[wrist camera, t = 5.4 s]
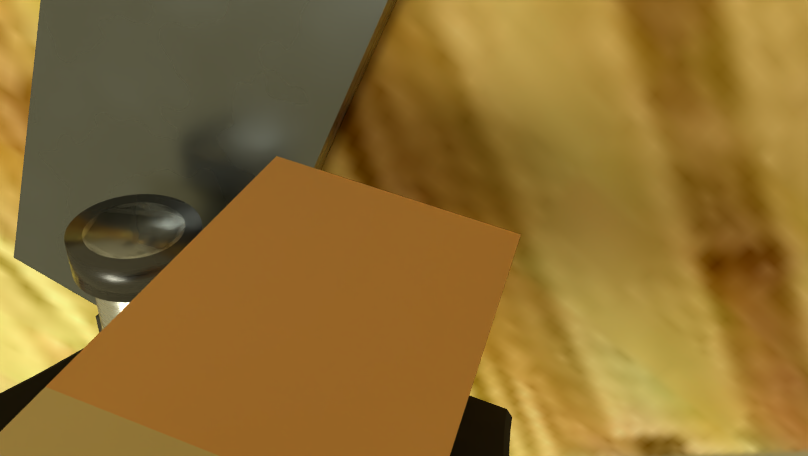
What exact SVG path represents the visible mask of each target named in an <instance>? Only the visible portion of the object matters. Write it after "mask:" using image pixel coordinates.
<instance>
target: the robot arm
mask: <svg viewBox="0 0 808 456" xmlns="http://www.w3.org/2000/svg"><path fill="white" fill-rule="evenodd" d="M83 349H84V348H83ZM83 349H82V350H83ZM82 350H80V351H78V352H76V353H74V354H73V355H71V356H69V357H67V358H66V359H64V360H62V361H60V362H58V363H57V364H55V365H53V366H51V367H50V368H48V369H46V370H44V371H42V372H40V373H39V374H37V375H35V376H33V377H31V378H29V379H27V380H25V381H23V382H21V383H19V384H17V385H15V386H14V387H12V388H10V389H8V390H6V391H4V392H2V393H0V432H1V431H2V430H3V429H4V428H5V427H6V426H7V425H8V424H9V423H10V422H11V421H12V420H13V419H14V418H15V417H16V416H17V415H18V414H19V413H20V412H21V411H22V410H23V409H24V408H25V407H26V406H27V405H28V404H29V403H30V402H31V401H32V400H33V399H34V398H35V397H36V396H37V395H38V394H39V393H40V392H41V391H42V390H43V389H44V388H45V387H46V386H47V385H48V384H49V383H50V382H51V381H52V380H53V379H54V378H55V377H56V376H57V375H58V374H59V373H60V372H61V371H62V370H63V369H64V368H65V367H66V366H67V365H68V364H69V363H70V362H71V361H72V360H73V359H74V358H75V357H76V356H77V355H78V354H79V353H80V352H81V351H82ZM511 421H512V416H511V415H510V413H509V412H508V410H507V409H505V408H502V407H499V406H497V405H494V404H491V403H488V402H486V401H483V400H480V399H477V398H475V397H472V396H469V397H468V401H467V404H466V407H465V410H464V413H463V416H462V419H461V422H460V425H459V429H458V432H457V435H456V438H455V441H454V444H453V447H452V450H451V453H450V456H509V443H510V429H511Z"/></svg>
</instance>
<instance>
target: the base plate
mask: <svg viewBox="0 0 808 456" xmlns="http://www.w3.org/2000/svg"><path fill="white" fill-rule="evenodd" d="M395 3H396V0H41V3H40V12H39V22H38V31H37V41H36V50H35V60H34V70H33V79H32V89H31V98H30V108H29V117H28V127H27V136H26V146H25V155H24V165H23V174H22V184H21V194H20V203H19V213H18V222H17V232H16V241H15V251H14V258H16V259H17V260H19V261H21V262H22V263H24V264H26V265H28V266H29V267H31V268H33V269H35V270H36V271H38V272H40V273H42V274H43V275H45V276H47V277H48V278H50V279H52V280H54V281H55V282H57V283H59V284H61V285H62V286H64V287H66V288H67V289H69V290H71V291H73V292H74V293H76V294H78V295H80V296H81V297H83V298H85V299H86V300H88V301H90V302H92V303H93V304H95V305H97V303H96V298H95V297H93V296H91V295H89V294H87V293H85V292H84V291H83V290H81V289H80V288H79V287H78V286H77V284H76V283H75V281H74V279H73V276H72V272H71V268H70V264H69V260H68V256H67V251H66V247H65V243H64V235H65V231H66V229H67V227H68V225H69V224H70V222H71V221H72V220H73V219H74V218H75V217H76V216H77V215H78V214H80V213H81V212H83V211H84V210H86V209H87V208H89V207H91V206H93V205H95V204H97V203H100V202H102V201H105V200H108V199H112V198H116V197H120V196H126V195H134V194H157V195H164V196H169V197H173V198H176V199H179V200H181V201H184V202H185V203H187V204H189V205H190V206H192V207H193V208H194V209H195V210H196V211H197V212H198V214H199V216H200V218H201V221H202V230H203V229H204V228H205V227H206V226H207V225H208V224H209V223H210V222H211V221H212V220H213V219H214V218H215V217H216V216H217V215H218V214H219V213H220V212H221V211H222V210H223V209H224V208H225V207H226V206H227V205H228V204H229V203H230V202H231V201H232V200H233V199H234V198H235V197H236V196H237V195H238V194H239V193H240V192H241V191H242V190H243V189H244V188H245V187H246V186H247V185H248V184H249V183H250V182H251V181H252V180H253V179H254V178H255V177H256V176H257V175H258V174H259V173H260V172H261V171H262V170H263V169H264V168H265V167H266V166H267V165H268V164H269V163H270V162H271V161H272V160H273V159H274V158H275V157H276V156H278V157H281V158H284V159H288V160H291V161H294V162H297V163H300V164H303V165H306V166H309V167H312V168H316V169H319V170H320V169H321V167H322V165H323V163H324V160H325V158H326V156H327V154H328V152H329V149H330V147H331V145H332V143H333V140H334V138H335V136H336V134H337V132H338V129H339V127H340V125H341V123H342V120H343V118H344V116H345V114H346V112H347V109H348V107H349V105H350V103H351V100H352V98H353V96H354V94H355V92H356V89H357V87H358V85H359V83H360V80H361V78H362V76H363V74H364V72H365V69H366V67H367V65H368V63H369V60H370V58H371V56H372V54H373V52H374V49H375V47H376V45H377V43H378V40H379V38H380V36H381V34H382V32H383V29H384V27H385V25H386V23H387V20H388V18H389V16H390V14H391V12H392V9H393V7H394V5H395Z"/></svg>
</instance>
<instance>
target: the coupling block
mask: <svg viewBox="0 0 808 456" xmlns="http://www.w3.org/2000/svg"><path fill="white" fill-rule="evenodd" d="M520 236H521V234H518V233H515V232H512V231H509V230H506V229H502V228H499V227H496V226H493V225H490V224H487V223H484V222H481V221H477V220H474V219H471V218H468V217H465V216H462V215H459V214H456V213H453V212H449V211H446V210H443V209H440V208H437V207H434V206H431V205H428V204H425V203H421V202H418V201H415V200H412V199H409V198H406V197H403V196H400V195H397V194H393V193H390V192H387V191H384V190H381V189H378V188H375V187H372V186H368V185H365V184H362V183H359V182H356V181H353V180H350V179H347V178H344V177H340V176H337V175H334V174H331V173H328V172H325V171H322V170H319V169H316V168H312V167H309V166H306V165H303V164H300V163H297V162H294V161H291V160H288V159H284V158H281V157H278V156H276V157H275V158H274V159H273V160H272V161H271V162H270V163H269V164H268V165H267V166H266V167H265V168H264V169H263V170H262V171H261V172H260V173H259V174H258V175H257V176H256V177H255V178H254V179H253V180H252V181H251V182H250V183H249V184H248V185H247V186H246V187H245V188H244V189H243V190H242V191H241V192H240V193H239V194H238V195H237V196H236V197H235V198H234V199H233V200H232V201H231V202H230V203H229V204H228V205H227V206H226V207H225V208H224V209H223V210H222V211H221V212H220V213H219V214H218V215H217V216H216V217H215V218H214V219H213V220H212V221H211V222H210V223H209V224H208V225H207V226H206V227H205V228H204V229H203V230H202V231H201V232H200V233H199V234H198V235H197V236H196V237H195V238H194V239H193V240H192V241H191V242H190V243H189V244H188V245H187V246H186V247H185V248H184V249H183V250H182V251H181V252H180V253H179V254H178V255H177V256H176V257H175V258H174V259H173V260H172V261H171V262H170V263H169V264H168V265H167V266H166V267H165V268H164V269H163V270H162V271H161V272H160V273H159V274H158V275H157V276H156V277H155V278H154V279H153V280H152V281H151V282H150V283H149V284H148V285H147V286H146V287H145V288H144V289H143V290H142V291H141V292H140V293H139V294H138V295H137V296H136V297H135V298H134V299H133V300H132V301H131V302H130V303H129V304H128V305H127V306H126V307H125V308H124V309H123V310H122V311H121V312H120V313H119V314H118V315H117V316H116V317H115V318H114V319H113V320H112V321H111V322H110V323H109V324H108V325H107V326H106V327H105V328H104V329H103V330H102V331H101V332H100V333H99V334H98V335H97V336H96V337H95V338H94V339H93V340H92V341H91V342H90V343H89V344H88V345H87V346H86V347H85V348H84V349H83V350H82V351H81V352H80V353H79V354H78V355H77V356H76V357H75V358H74V359H73V360H72V361H71V362H70V363H69V364H68V365H67V366H66V367H65V368H64V369H63V370H62V371H61V372H60V373H59V374H58V375H57V376H56V377H55V378H54V379H53V380H52V381H51V382H50V383H49V384H48V385H47V386H46V387H45V388H44V389H43V390H42V391H41V392H40V393H39V394H38V395H37V396H36V397H35V398H34V399H33V400H32V401H31V402H30V403H29V404H28V405H27V406H26V407H25V408H24V409H23V410H22V411H21V412H20V413H19V414H18V415H17V416H16V417H15V418H14V419H13V420H12V421H11V422H10V423H9V424H8V425H7V426H6V427H5V428H4V429H3V430H2V431H1V432H0V456H450V453H451V450H452V447H453V444H454V441H455V438H456V435H457V432H458V429H459V425H460V422H461V419H462V416H463V413H464V410H465V407H466V404H467V401H468V397H469V394H470V391H471V388H472V385H473V382H474V379H475V376H476V373H477V369H478V366H479V363H480V360H481V357H482V354H483V351H484V348H485V345H486V341H487V338H488V335H489V332H490V329H491V326H492V323H493V320H494V317H495V314H496V310H497V307H498V304H499V301H500V298H501V295H502V292H503V289H504V286H505V282H506V279H507V276H508V273H509V270H510V267H511V264H512V261H513V258H514V254H515V251H516V248H517V245H518V242H519V239H520Z"/></svg>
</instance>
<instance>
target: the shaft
mask: <svg viewBox="0 0 808 456" xmlns="http://www.w3.org/2000/svg"><path fill="white" fill-rule="evenodd" d="M201 231H202V221H201V218H200V216H199V214H198V212H197V211H196V210H195V209H194V208H193V207H192V206H190V205H189V204H187V203H185V202H184V201H181V200H179V199H176V198H173V197H169V196H164V195H157V194H134V195H126V196H120V197H116V198H112V199H108V200H105V201H102V202H100V203H97V204H95V205H93V206H91V207H89V208H87V209H86V210H84V211H83V212H81V213H80V214H78V215H77V216H76V217H75V218H74V219H73V220H72V221H71V222H70V224H69V225H68V227H67V229H66V231H65V235H64V243H65V247H66V251H67V256H68V260H69V264H70V268H71V272H72V276H73V279H74V281H75V283H76V284H77V286H78V287H79V288H80V289H81V290H83V291H84V292H85V293H87V294H89V295H91V296H93V297H95V298H96V303H97V308H98V312H99V314H98V315H97V316H96V320H97V324H98V329H99V333H100V332H101V331H102V330H103V329H104V328H105V327H106V326H107V325H108V324H109V323H110V322H111V321H112V320H113V319H114V318H115V317H116V316H117V315H118V314H119V313H120V312H121V311H122V310H123V309H124V308H125V307H126V306H127V305H128V304H129V303H130V302H131V301H132V300H133V299H134V298H135V297H136V296H137V295H138V294H139V293H140V292H141V291H142V290H143V289H144V288H145V287H146V286H147V285H148V284H149V283H150V282H151V281H152V280H153V279H154V278H155V277H156V276H157V275H158V274H159V273H160V272H161V271H162V270H163V269H164V268H165V267H166V266H167V265H168V264H169V263H170V262H171V261H172V260H173V259H174V258H175V257H176V256H177V255H178V254H179V253H180V252H181V251H182V250H183V249H184V248H185V247H186V246H187V245H188V244H189V243H190V242H191V241H192V240H193V239H194V238H195V237H196V236H197V235H198V234H199V233H200V232H201Z"/></svg>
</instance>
